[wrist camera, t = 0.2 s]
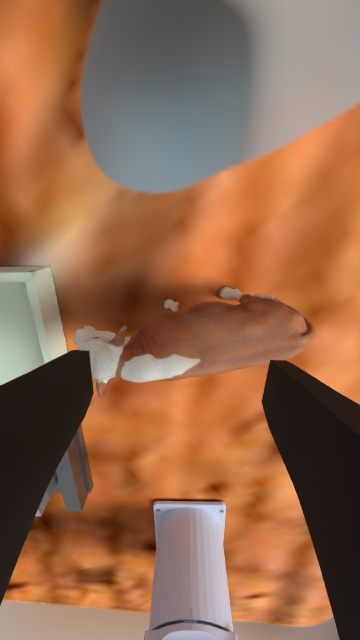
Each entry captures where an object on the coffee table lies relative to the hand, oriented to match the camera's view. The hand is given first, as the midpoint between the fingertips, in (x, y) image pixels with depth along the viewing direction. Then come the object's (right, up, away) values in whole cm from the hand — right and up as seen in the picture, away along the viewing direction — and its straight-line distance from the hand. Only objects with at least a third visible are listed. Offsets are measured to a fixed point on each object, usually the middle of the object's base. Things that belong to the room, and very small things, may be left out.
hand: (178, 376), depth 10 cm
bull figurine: (+1, +3, +10) cm, 10 cm away
